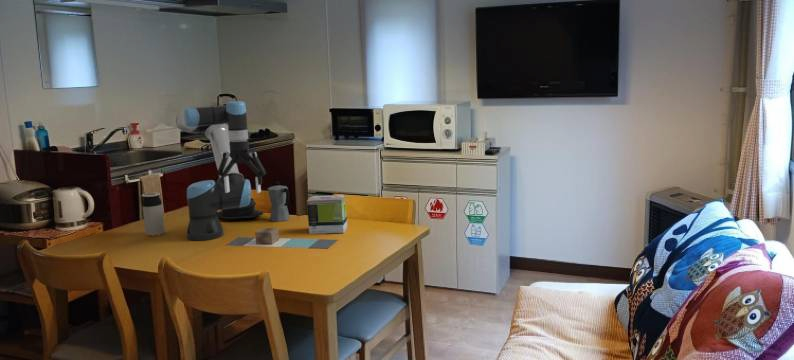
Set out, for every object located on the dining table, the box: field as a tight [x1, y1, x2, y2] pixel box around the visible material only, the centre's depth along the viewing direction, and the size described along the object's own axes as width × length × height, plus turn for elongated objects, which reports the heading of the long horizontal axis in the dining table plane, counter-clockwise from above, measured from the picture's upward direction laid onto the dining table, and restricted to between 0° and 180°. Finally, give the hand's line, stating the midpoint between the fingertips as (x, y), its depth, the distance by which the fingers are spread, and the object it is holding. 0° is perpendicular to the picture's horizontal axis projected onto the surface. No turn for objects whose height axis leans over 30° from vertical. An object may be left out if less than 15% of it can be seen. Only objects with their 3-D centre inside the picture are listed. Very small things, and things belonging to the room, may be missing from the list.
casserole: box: [217, 197, 265, 221], centre depth 314 cm, size 25×19×8 cm
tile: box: [242, 237, 291, 248], centre depth 269 cm, size 16×12×1 cm
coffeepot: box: [267, 181, 291, 223], centre depth 305 cm, size 15×9×18 cm, turn 43°
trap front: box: [308, 238, 339, 250], centre depth 263 cm, size 8×12×1 cm, turn 166°
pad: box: [279, 238, 320, 249], centre depth 265 cm, size 12×12×1 cm
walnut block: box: [254, 227, 280, 245], centre depth 268 cm, size 7×7×5 cm
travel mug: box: [141, 192, 166, 236], centre depth 288 cm, size 8×8×18 cm
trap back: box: [225, 236, 255, 247], centre depth 271 cm, size 8×12×1 cm, turn 166°
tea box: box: [306, 194, 348, 235], centre depth 282 cm, size 15×10×15 cm
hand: (243, 192), depth 268 cm, fingers open, 13 cm apart
